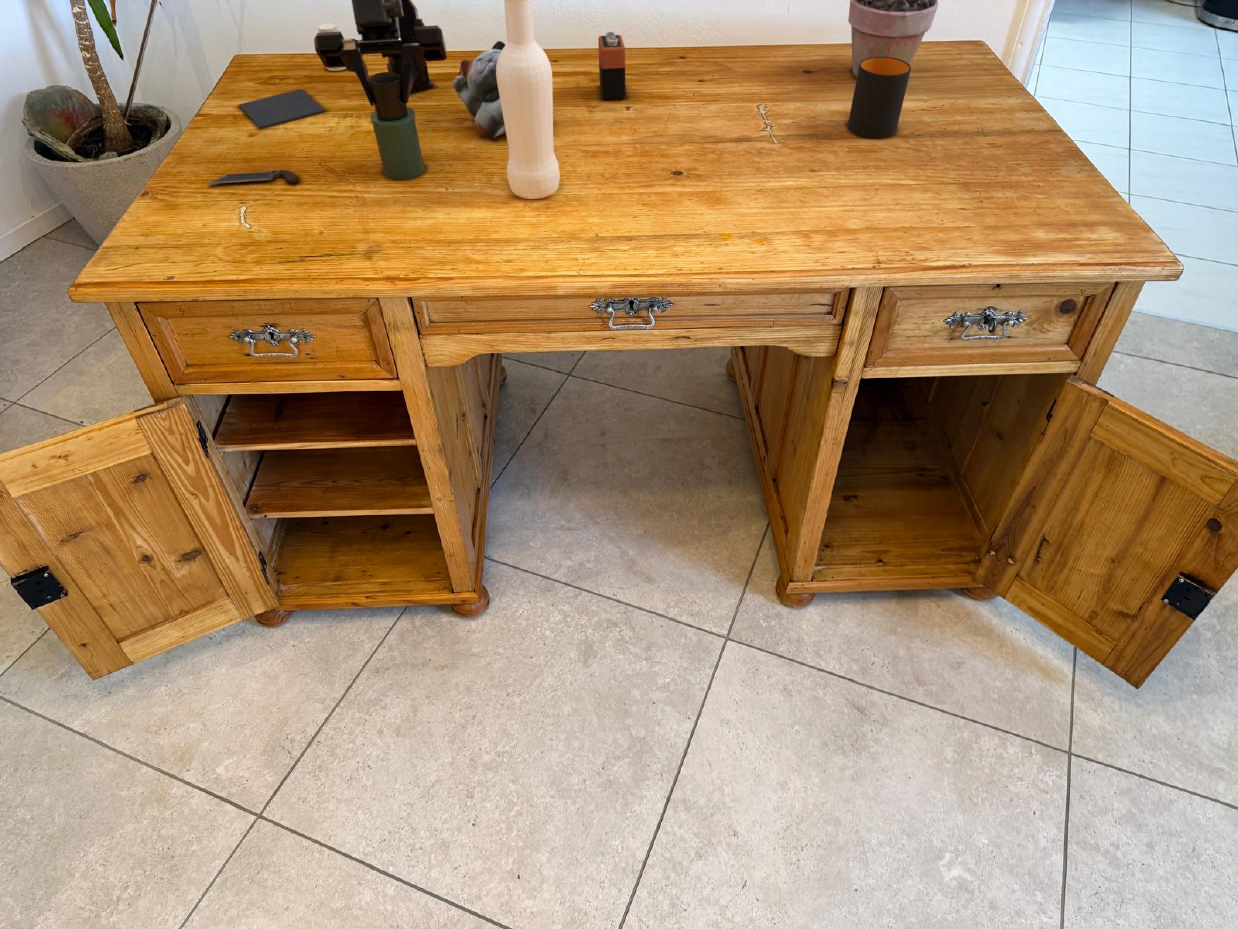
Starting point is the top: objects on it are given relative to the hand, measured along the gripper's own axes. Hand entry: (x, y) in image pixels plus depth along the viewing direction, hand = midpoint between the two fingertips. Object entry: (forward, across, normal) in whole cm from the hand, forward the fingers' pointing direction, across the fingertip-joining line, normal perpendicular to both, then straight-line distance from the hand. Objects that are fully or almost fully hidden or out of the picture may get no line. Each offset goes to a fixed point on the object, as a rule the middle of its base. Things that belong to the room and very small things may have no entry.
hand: (388, 103), depth 122 cm
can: (+7, 0, +9) cm, 11 cm away
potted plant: (-11, +89, +27) cm, 94 cm away
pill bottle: (-26, -15, +43) cm, 52 cm away
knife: (+7, -24, +9) cm, 26 cm away
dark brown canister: (+1, 0, +3) cm, 3 cm away
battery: (-10, +38, +27) cm, 47 cm away
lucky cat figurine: (-3, +17, +19) cm, 26 cm away
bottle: (+14, +21, +2) cm, 25 cm away
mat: (-13, -24, +29) cm, 40 cm away
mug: (+4, +80, +12) cm, 81 cm away
